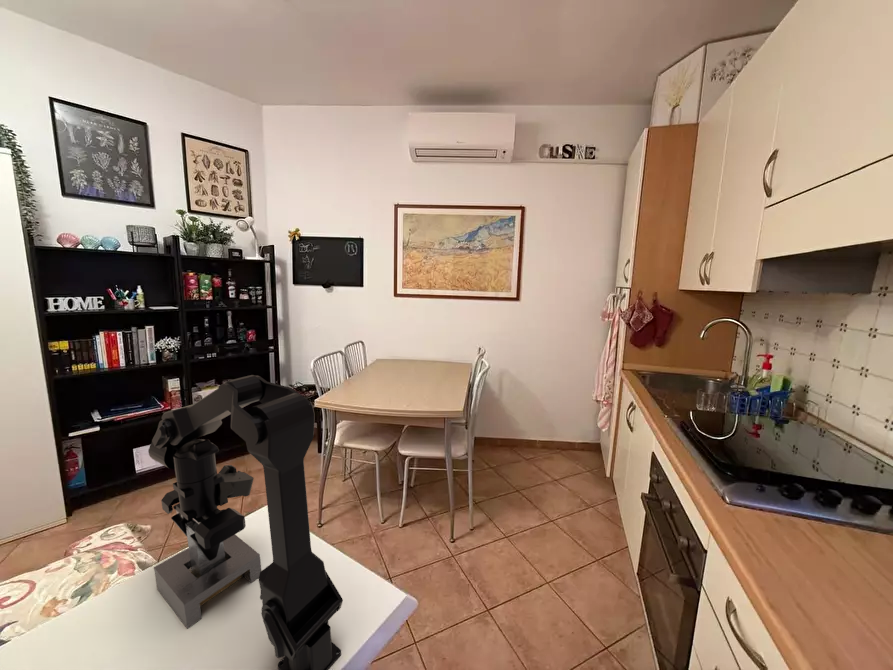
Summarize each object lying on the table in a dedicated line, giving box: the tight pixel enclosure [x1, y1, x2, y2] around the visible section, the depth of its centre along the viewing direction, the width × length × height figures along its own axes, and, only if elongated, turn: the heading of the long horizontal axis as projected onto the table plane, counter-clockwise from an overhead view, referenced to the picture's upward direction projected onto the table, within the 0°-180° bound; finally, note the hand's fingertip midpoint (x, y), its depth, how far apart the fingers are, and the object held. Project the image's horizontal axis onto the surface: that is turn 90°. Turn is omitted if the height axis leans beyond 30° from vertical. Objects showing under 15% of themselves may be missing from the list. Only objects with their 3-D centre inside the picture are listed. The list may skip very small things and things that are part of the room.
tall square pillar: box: [185, 520, 226, 579], centre depth 62 cm, size 4×4×11 cm
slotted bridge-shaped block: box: [153, 534, 262, 629], centre depth 63 cm, size 13×12×4 cm
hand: (207, 553), depth 62 cm, fingers closed on tall square pillar, 4 cm apart
